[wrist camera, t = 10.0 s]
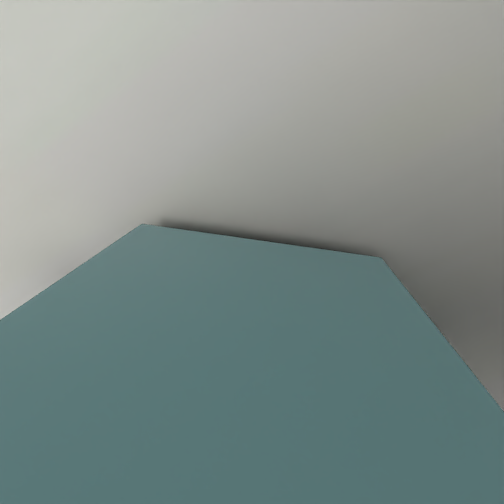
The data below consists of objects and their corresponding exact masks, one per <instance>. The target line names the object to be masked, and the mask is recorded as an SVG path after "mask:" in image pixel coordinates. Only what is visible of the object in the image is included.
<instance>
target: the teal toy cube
mask: <svg viewBox="0 0 504 504" xmlns="http://www.w3.org/2000/svg"><path fill="white" fill-rule="evenodd" d="M0 504H504V411H503V410H502V409H501V408H500V406H499V405H498V404H497V403H496V401H495V400H494V399H493V398H492V396H491V395H490V394H489V393H488V391H487V390H486V389H485V387H484V386H483V385H482V384H481V382H480V381H479V380H478V379H477V377H476V376H475V375H474V374H473V372H472V371H471V370H470V369H469V367H468V366H467V365H466V364H465V362H464V361H463V360H462V359H461V357H460V356H459V355H458V354H457V352H456V351H455V350H454V349H453V347H452V346H451V345H450V343H449V342H448V341H447V340H446V338H445V337H444V336H443V335H442V333H441V332H440V331H439V330H438V328H437V327H436V326H435V325H434V323H433V322H432V321H431V320H430V318H429V317H428V316H427V315H426V313H425V312H424V311H423V310H422V308H421V307H420V306H419V305H418V303H417V302H416V301H415V300H414V298H413V297H412V296H411V294H410V293H409V292H408V291H407V289H406V288H405V287H404V286H403V284H402V283H401V282H400V281H399V279H398V278H397V277H396V276H395V274H394V273H393V272H392V271H391V269H390V268H389V267H388V266H387V264H386V263H385V262H384V261H383V259H382V258H380V257H373V256H366V255H359V254H352V253H345V252H338V251H331V250H324V249H317V248H310V247H303V246H296V245H288V244H281V243H274V242H267V241H260V240H253V239H246V238H239V237H232V236H225V235H218V234H211V233H204V232H196V231H189V230H182V229H175V228H168V227H161V226H154V225H147V224H141V225H140V226H138V227H137V228H135V229H134V230H132V231H131V232H129V233H128V234H126V235H125V236H123V237H122V238H120V239H119V240H117V241H116V242H114V243H113V244H112V245H110V246H109V247H107V248H106V249H104V250H103V251H101V252H100V253H98V254H97V255H95V256H94V257H92V258H91V259H89V260H88V261H86V262H85V263H84V264H82V265H81V266H79V267H78V268H76V269H75V270H73V271H72V272H70V273H69V274H67V275H66V276H64V277H63V278H61V279H60V280H58V281H57V282H56V283H54V284H53V285H51V286H50V287H48V288H47V289H45V290H44V291H42V292H41V293H39V294H38V295H36V296H35V297H33V298H32V299H30V300H29V301H28V302H26V303H25V304H23V305H22V306H20V307H19V308H17V309H16V310H14V311H13V312H11V313H10V314H8V315H7V316H5V317H4V318H2V319H1V320H0Z"/></svg>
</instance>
